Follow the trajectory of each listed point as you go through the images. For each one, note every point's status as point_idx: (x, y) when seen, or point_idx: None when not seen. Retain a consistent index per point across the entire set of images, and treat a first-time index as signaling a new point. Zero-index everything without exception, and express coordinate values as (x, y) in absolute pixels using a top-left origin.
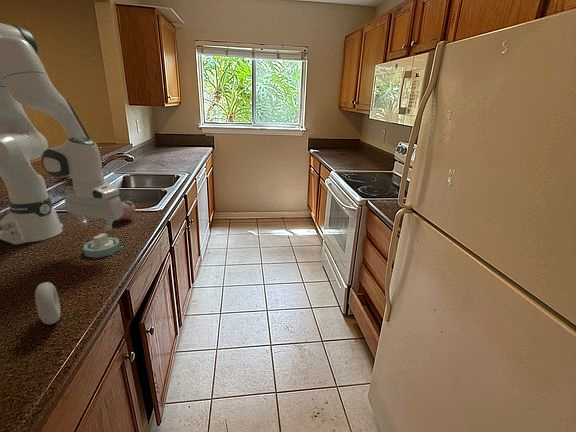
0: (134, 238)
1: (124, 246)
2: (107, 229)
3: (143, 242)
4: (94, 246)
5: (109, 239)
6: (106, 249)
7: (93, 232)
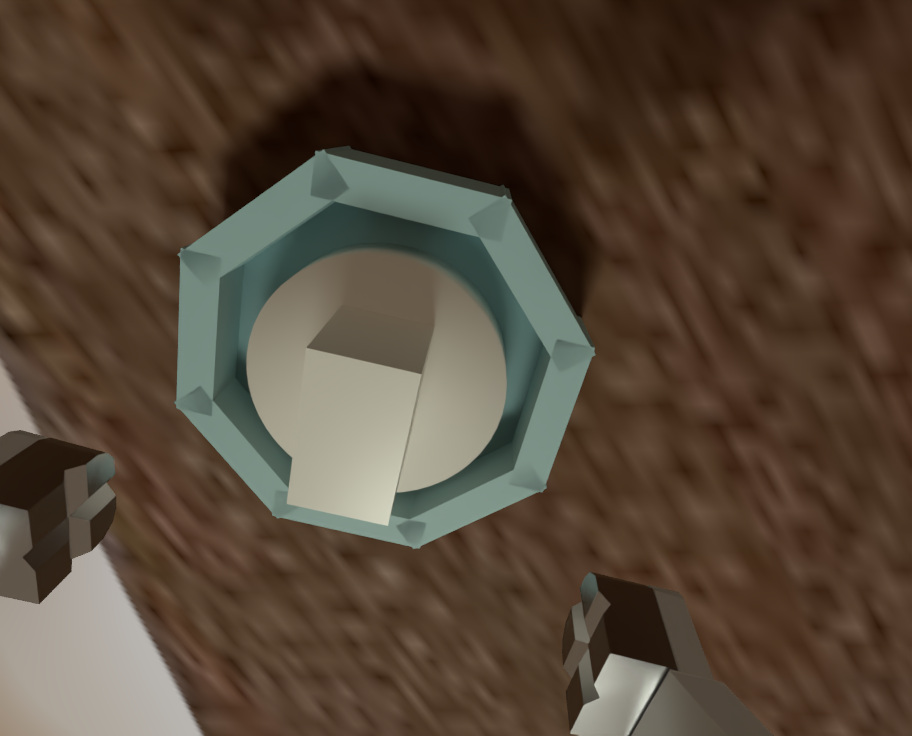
0: (249, 591)
1: None
2: (13, 437)
3: None
4: (419, 301)
5: None
6: (211, 230)
7: None
